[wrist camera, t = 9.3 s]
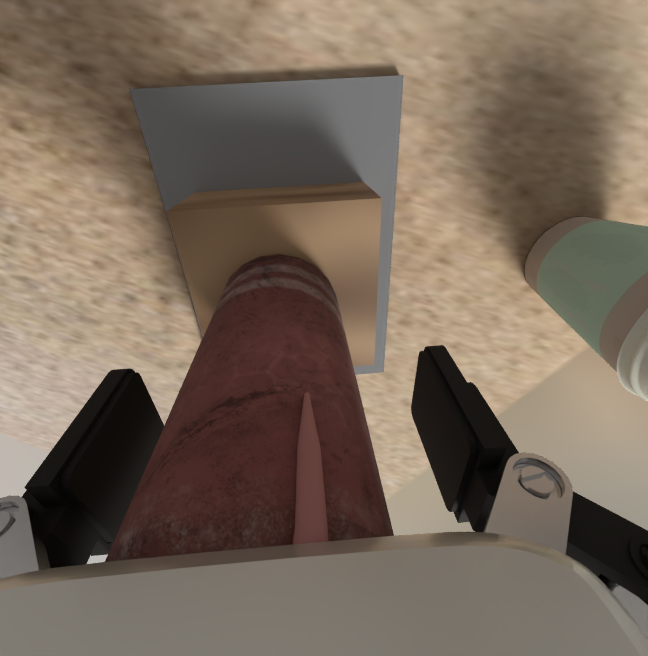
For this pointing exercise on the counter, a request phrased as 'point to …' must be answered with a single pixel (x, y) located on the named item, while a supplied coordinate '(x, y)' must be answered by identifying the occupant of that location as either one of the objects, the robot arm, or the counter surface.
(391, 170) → the mat
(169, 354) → the counter surface
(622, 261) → the coffee cup
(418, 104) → the counter surface
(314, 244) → the block
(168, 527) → the can
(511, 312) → the counter surface
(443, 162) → the counter surface
